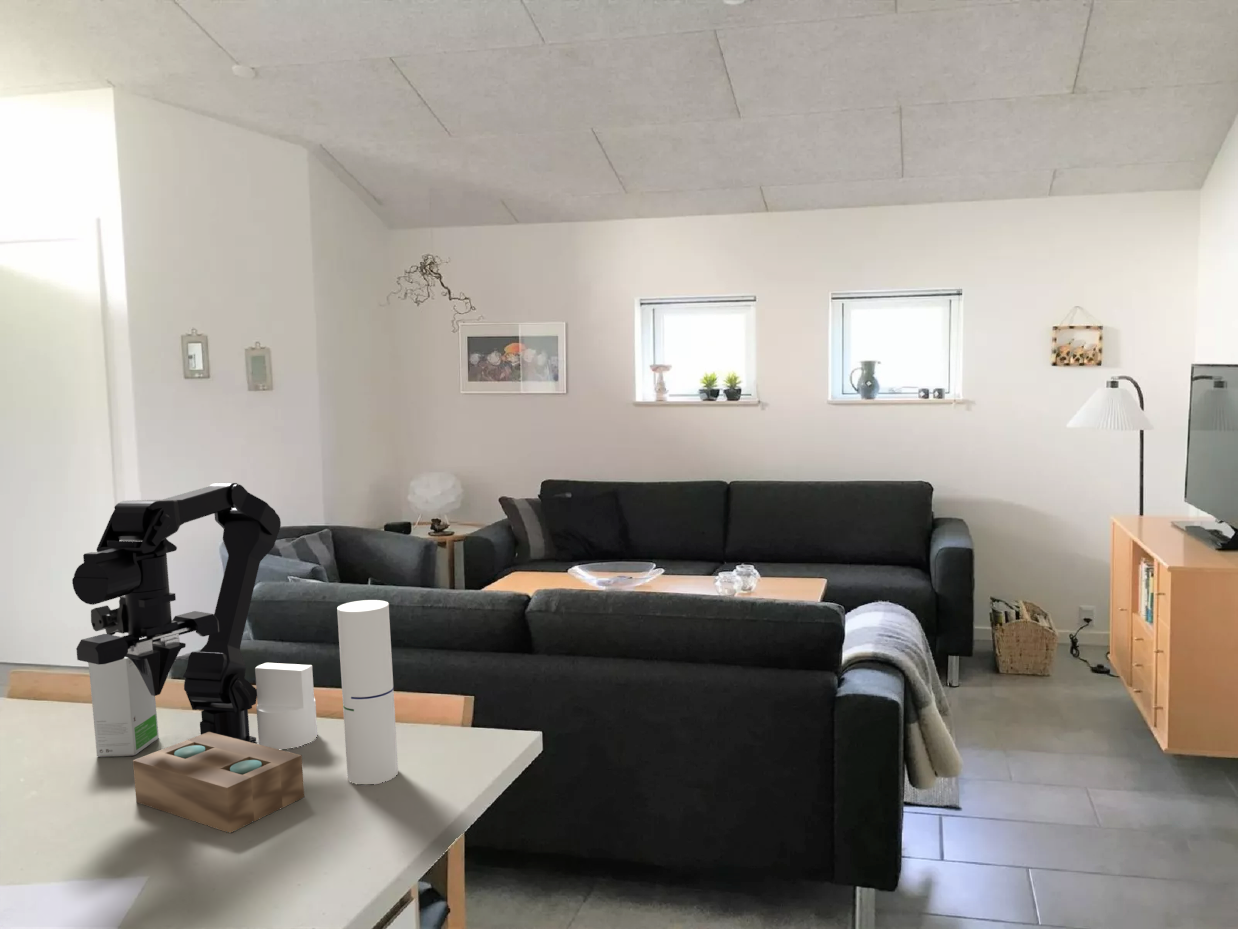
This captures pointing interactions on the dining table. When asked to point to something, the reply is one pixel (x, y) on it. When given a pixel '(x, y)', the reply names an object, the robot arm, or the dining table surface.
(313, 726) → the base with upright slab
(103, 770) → the dining table surface
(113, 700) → the skincare box
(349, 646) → the cylindrical container
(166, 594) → the robot arm
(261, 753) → the socket block
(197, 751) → the peg
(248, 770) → the peg
